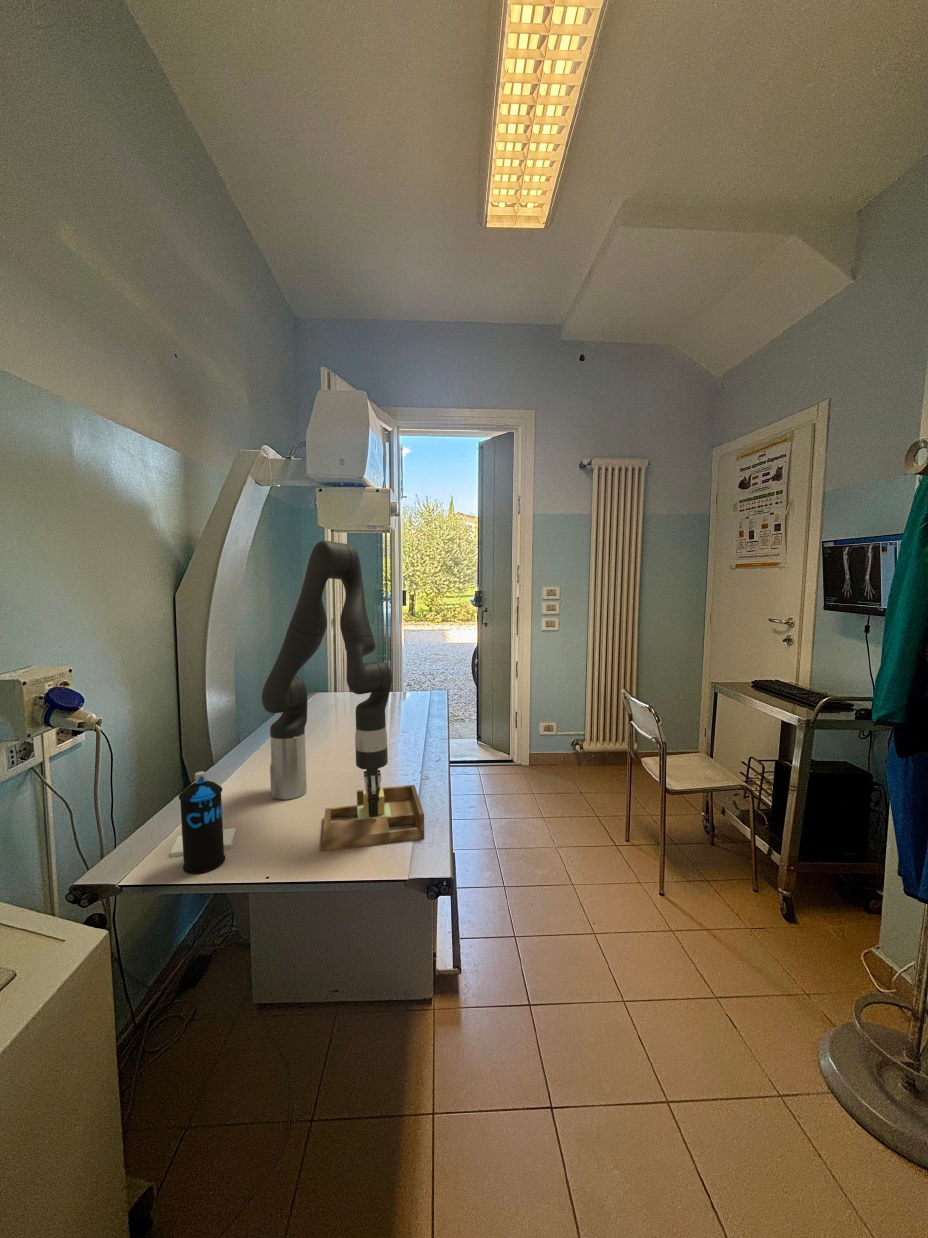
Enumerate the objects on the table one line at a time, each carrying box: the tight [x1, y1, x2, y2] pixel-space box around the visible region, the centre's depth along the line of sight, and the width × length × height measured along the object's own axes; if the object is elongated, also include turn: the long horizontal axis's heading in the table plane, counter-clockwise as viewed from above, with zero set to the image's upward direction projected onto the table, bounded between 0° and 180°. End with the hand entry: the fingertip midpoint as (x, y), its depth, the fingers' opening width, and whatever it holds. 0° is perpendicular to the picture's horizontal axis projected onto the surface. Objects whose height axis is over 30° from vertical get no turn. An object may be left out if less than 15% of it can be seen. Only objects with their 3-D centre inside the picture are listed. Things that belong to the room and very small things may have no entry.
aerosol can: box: [178, 770, 227, 875], centre depth 107 cm, size 8×8×20 cm
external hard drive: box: [169, 827, 237, 858], centre depth 116 cm, size 2×8×12 cm
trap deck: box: [321, 784, 425, 852], centre depth 123 cm, size 23×17×6 cm
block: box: [362, 787, 385, 816], centre depth 126 cm, size 5×5×4 cm
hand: (373, 815), depth 122 cm, fingers closed
